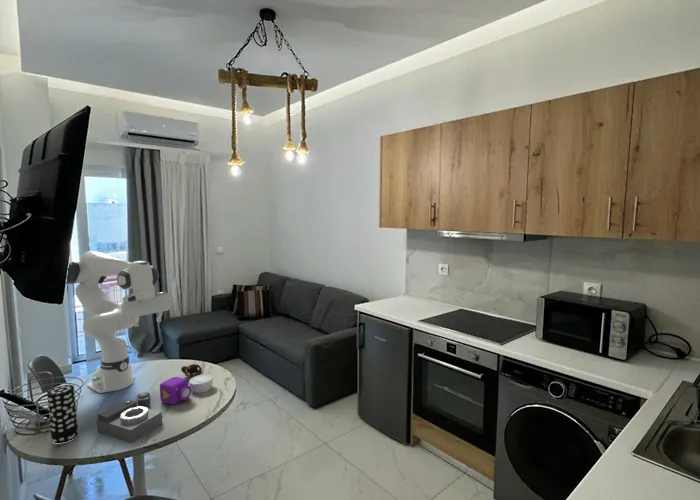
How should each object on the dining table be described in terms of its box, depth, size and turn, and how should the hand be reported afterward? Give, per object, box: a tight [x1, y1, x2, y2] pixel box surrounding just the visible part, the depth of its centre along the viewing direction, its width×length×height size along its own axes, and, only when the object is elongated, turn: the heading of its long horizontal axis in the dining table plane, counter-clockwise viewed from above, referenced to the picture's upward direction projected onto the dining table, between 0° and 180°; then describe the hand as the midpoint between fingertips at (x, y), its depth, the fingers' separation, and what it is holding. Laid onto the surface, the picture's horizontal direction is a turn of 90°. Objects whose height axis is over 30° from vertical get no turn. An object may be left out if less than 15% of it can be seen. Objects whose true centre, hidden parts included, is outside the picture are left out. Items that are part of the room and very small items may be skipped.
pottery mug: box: [180, 363, 203, 382], centre depth 200 cm, size 12×10×8 cm
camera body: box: [96, 399, 163, 443], centre depth 154 cm, size 20×14×8 cm
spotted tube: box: [46, 384, 79, 443], centre depth 146 cm, size 8×8×20 cm
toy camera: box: [159, 375, 193, 405], centre depth 175 cm, size 11×14×10 cm
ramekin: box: [188, 373, 214, 394], centre depth 187 cm, size 11×11×5 cm
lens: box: [136, 392, 152, 409], centre depth 167 cm, size 5×5×7 cm
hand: (148, 324), depth 176 cm, fingers open, 8 cm apart
